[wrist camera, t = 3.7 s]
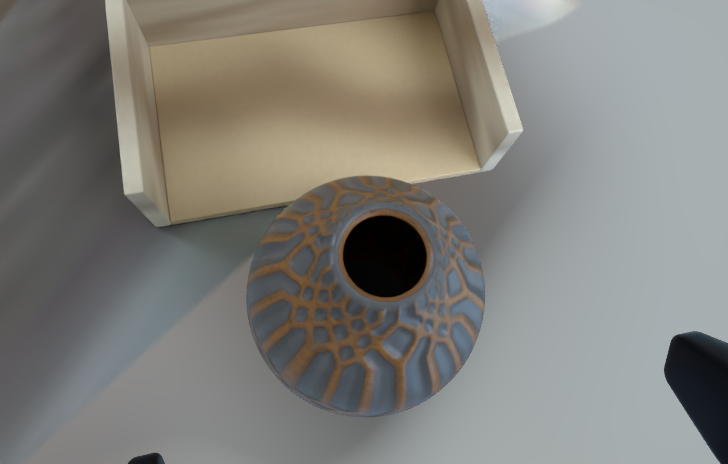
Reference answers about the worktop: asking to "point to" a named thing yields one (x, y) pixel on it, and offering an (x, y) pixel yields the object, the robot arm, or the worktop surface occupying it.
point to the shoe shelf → (299, 98)
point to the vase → (365, 296)
